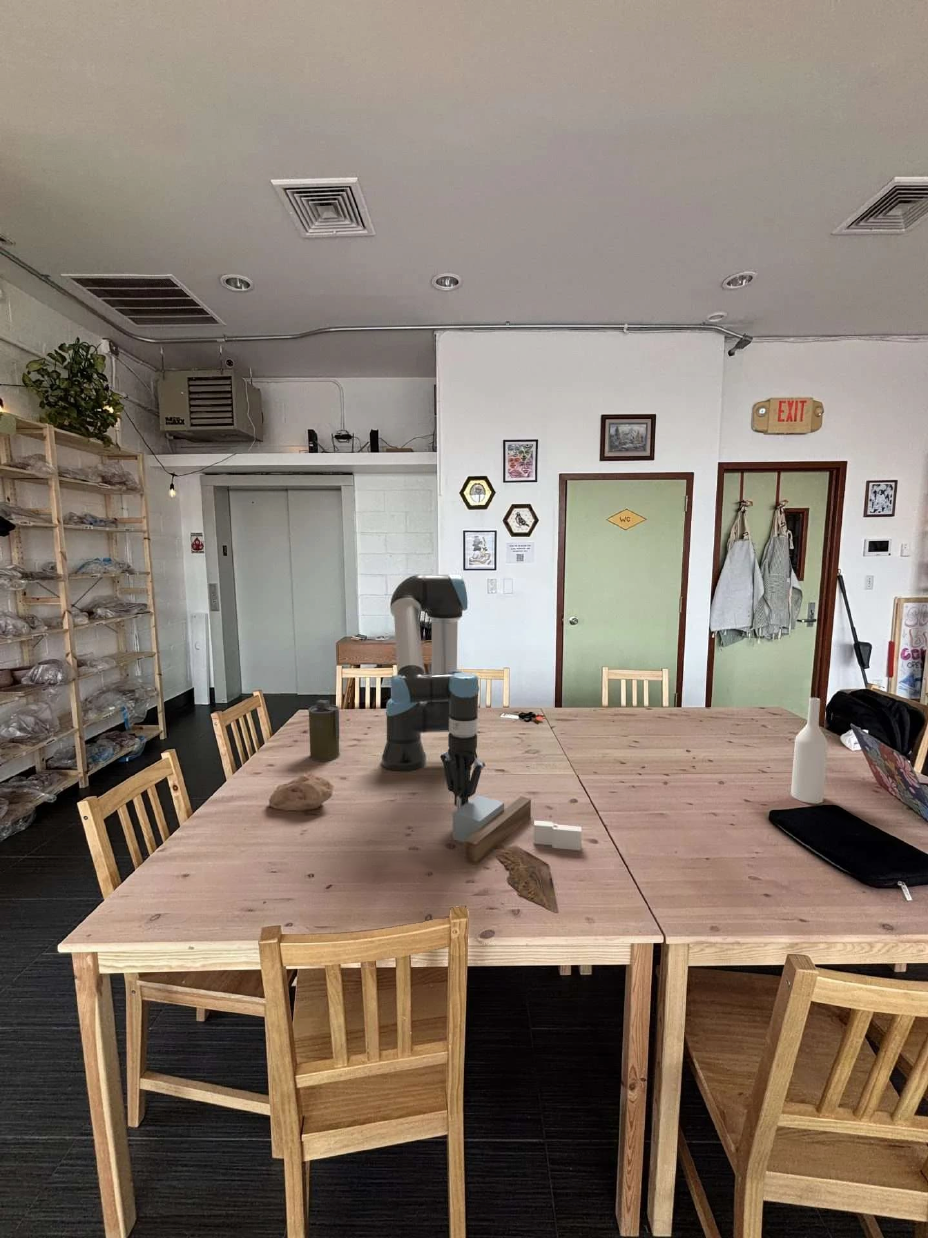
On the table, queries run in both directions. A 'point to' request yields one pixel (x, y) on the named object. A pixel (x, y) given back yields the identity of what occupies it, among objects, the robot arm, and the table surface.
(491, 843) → the stop board
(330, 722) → the canister
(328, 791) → the rock
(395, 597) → the robot arm
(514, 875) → the wooden fragment
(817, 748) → the bottle
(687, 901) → the table surface
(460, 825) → the block
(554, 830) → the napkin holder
